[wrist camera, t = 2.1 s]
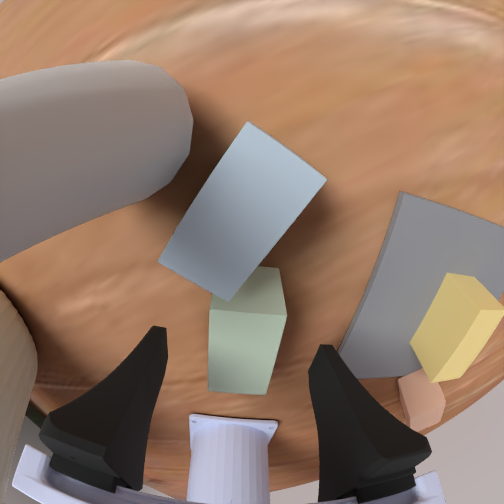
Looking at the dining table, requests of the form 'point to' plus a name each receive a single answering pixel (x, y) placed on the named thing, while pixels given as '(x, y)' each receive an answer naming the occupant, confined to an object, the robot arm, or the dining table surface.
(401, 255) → the felt mat
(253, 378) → the green brick
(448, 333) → the mustard brick
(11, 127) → the salt shaker
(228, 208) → the slate brick
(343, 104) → the dining table surface
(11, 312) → the canister
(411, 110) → the dining table surface
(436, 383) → the terracotta brick
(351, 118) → the dining table surface
